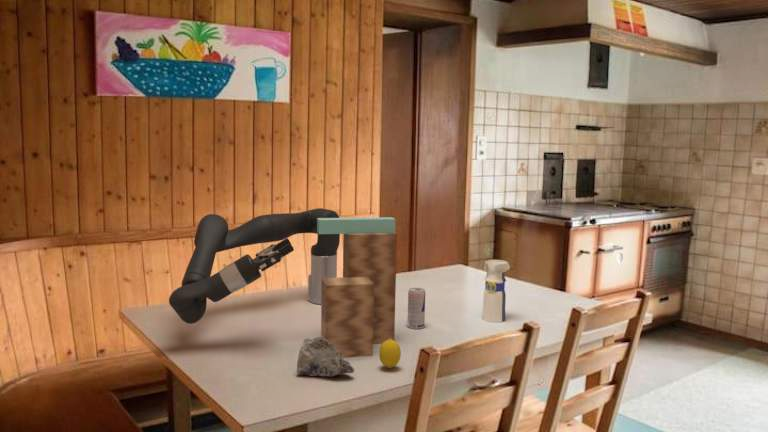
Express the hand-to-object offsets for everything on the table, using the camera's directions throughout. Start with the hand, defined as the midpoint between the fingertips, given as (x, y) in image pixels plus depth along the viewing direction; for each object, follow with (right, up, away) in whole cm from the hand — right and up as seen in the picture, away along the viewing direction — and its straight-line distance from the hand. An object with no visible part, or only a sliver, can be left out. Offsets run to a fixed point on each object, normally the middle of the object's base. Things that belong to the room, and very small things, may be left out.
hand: (290, 243), depth 184 cm
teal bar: (+18, +3, +4) cm, 19 cm away
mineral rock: (+11, -33, -20) cm, 40 cm away
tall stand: (+21, -29, +9) cm, 37 cm away
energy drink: (+36, -27, +23) cm, 51 cm away
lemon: (+28, -32, -14) cm, 45 cm away
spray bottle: (+63, -27, +33) cm, 76 cm away
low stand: (+16, -30, -2) cm, 34 cm away
